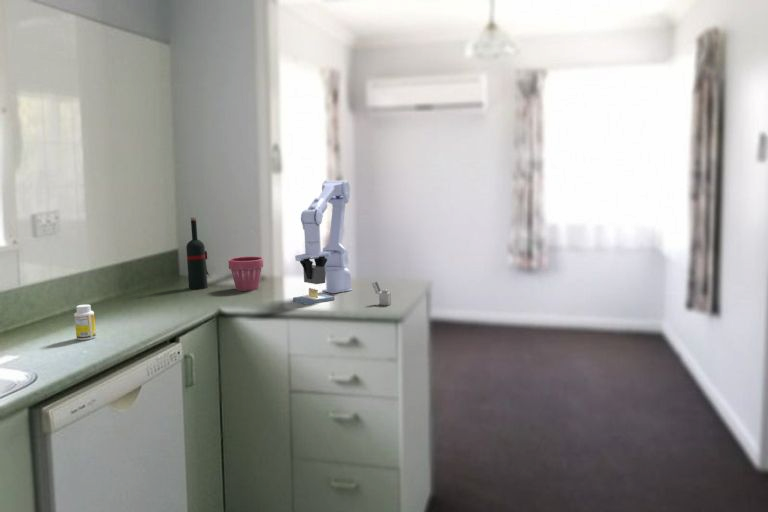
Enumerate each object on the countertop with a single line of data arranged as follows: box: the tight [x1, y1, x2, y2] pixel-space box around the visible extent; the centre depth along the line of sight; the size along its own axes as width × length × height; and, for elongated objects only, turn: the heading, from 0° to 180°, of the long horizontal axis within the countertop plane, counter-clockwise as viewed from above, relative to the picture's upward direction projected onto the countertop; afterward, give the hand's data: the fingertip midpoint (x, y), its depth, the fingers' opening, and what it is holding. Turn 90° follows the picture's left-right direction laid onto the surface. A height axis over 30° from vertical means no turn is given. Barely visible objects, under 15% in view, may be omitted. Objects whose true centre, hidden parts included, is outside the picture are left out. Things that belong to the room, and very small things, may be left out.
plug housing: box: [302, 264, 326, 285], centre depth 263 cm, size 4×8×6 cm, turn 41°
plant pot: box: [228, 256, 264, 292], centre depth 293 cm, size 14×14×13 cm
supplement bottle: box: [74, 304, 97, 341], centre depth 216 cm, size 6×6×10 cm
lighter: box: [371, 280, 392, 306], centre depth 253 cm, size 7×2×8 cm, turn 54°
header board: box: [292, 287, 335, 306], centre depth 264 cm, size 12×10×4 cm
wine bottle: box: [185, 216, 210, 291], centre depth 300 cm, size 8×10×30 cm
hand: (314, 278), depth 263 cm, fingers closed on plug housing, 4 cm apart
